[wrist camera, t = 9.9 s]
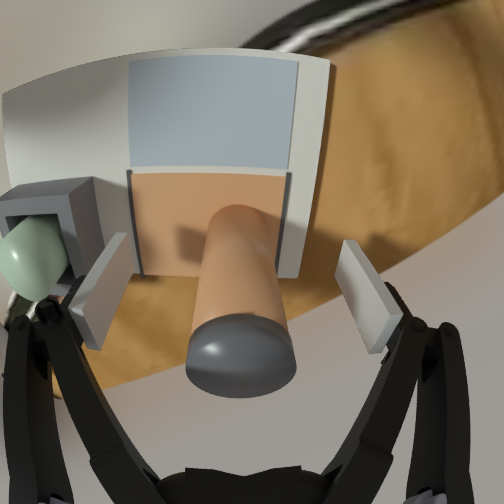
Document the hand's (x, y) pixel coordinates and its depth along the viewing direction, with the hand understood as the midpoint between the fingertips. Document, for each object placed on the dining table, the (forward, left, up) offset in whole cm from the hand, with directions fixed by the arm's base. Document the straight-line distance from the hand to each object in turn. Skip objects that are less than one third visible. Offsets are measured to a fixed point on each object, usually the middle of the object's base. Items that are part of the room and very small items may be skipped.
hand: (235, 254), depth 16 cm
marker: (0, 0, -3) cm, 3 cm away
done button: (0, -14, -2) cm, 14 cm away
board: (-4, -7, -4) cm, 9 cm away
